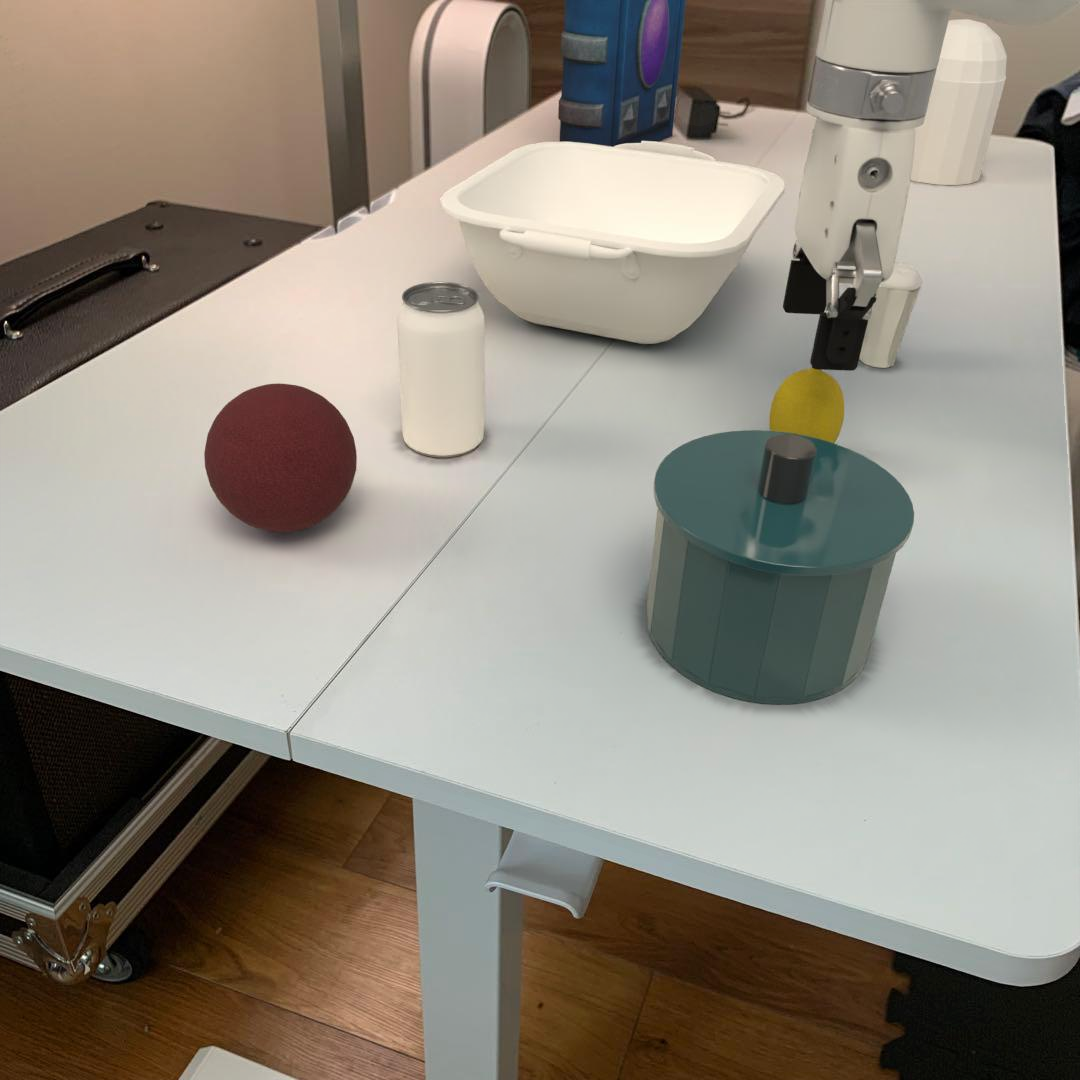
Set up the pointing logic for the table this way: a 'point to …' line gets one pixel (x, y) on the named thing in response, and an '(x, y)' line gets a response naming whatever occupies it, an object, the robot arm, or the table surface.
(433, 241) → the table surface
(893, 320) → the milkshake
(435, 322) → the can
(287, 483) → the decorative ball
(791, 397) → the lemon
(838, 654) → the enamel pot
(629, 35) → the book
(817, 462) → the pot lid
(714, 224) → the white plastic basin
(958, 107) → the container
